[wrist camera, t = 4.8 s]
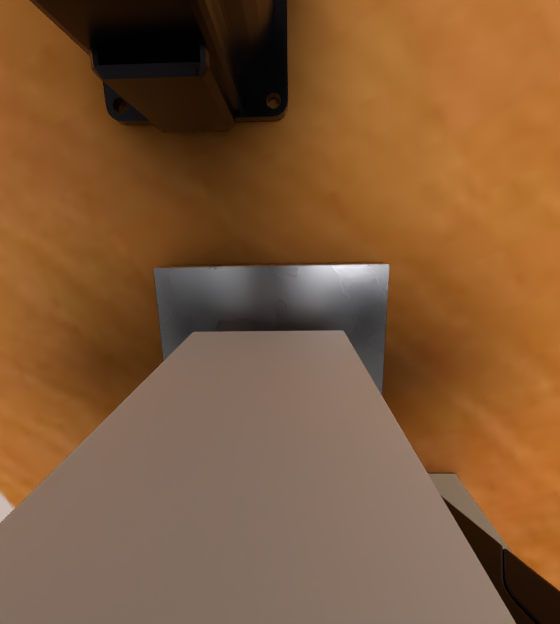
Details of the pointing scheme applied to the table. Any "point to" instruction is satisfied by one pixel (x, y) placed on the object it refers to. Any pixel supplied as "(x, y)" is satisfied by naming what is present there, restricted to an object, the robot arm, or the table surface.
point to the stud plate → (277, 302)
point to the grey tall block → (244, 503)
